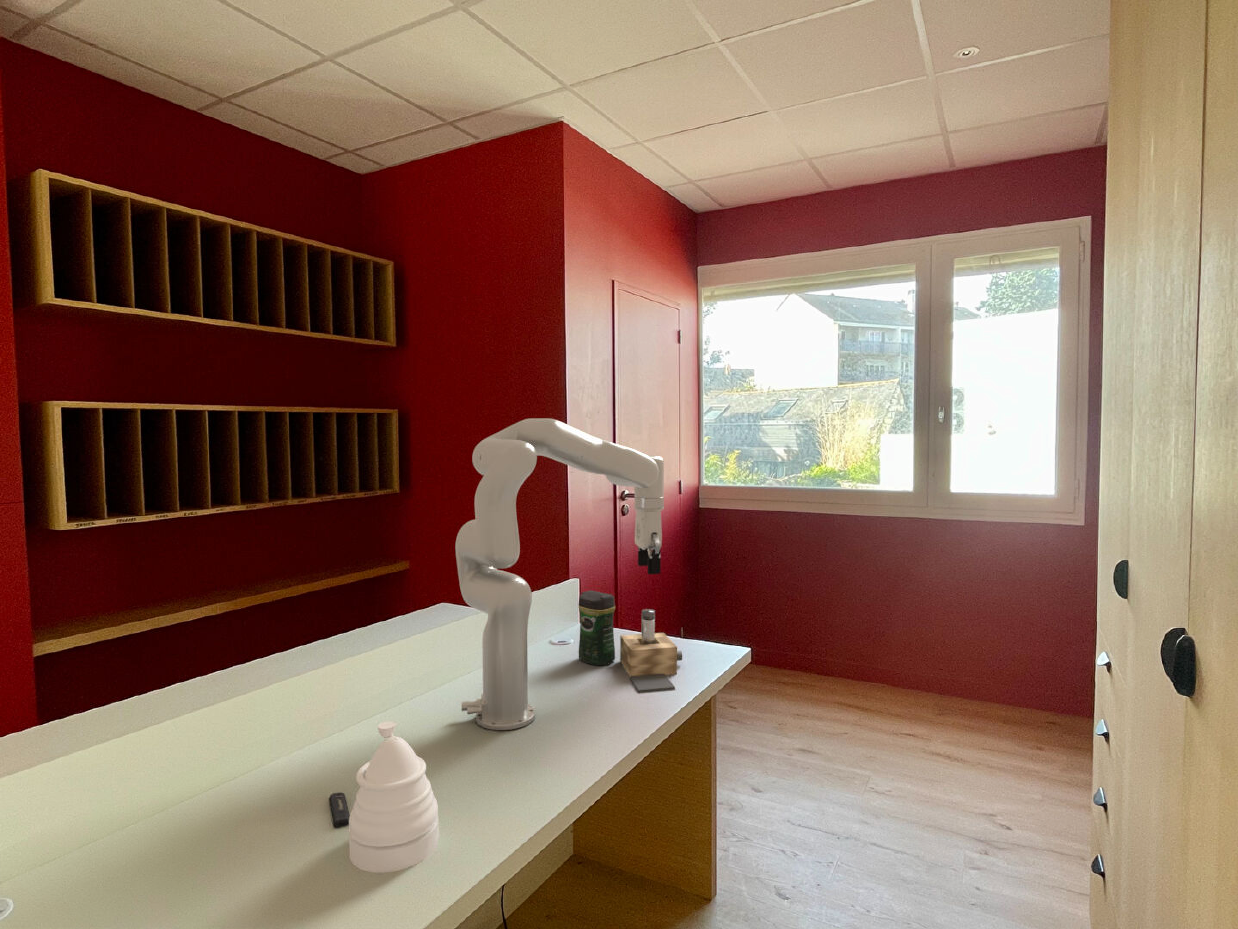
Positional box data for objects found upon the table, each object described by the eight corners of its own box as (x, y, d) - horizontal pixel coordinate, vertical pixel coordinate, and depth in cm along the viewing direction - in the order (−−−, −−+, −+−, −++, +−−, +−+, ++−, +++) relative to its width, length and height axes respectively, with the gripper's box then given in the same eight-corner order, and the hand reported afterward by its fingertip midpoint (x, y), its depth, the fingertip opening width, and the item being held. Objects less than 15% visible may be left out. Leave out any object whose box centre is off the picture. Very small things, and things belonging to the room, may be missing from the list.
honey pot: (335, 844, 104) (332, 728, 103) (413, 810, 113) (411, 704, 112) (372, 885, 95) (370, 759, 93) (454, 845, 104) (453, 729, 102)
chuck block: (630, 677, 171) (631, 650, 171) (620, 661, 183) (620, 635, 183) (688, 673, 175) (688, 646, 174) (674, 657, 186) (674, 632, 186)
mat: (638, 692, 162) (638, 690, 162) (629, 678, 171) (629, 676, 171) (674, 689, 164) (674, 687, 164) (664, 675, 173) (664, 673, 173)
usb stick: (351, 827, 109) (351, 818, 109) (333, 832, 108) (333, 822, 107) (345, 798, 117) (344, 789, 117) (328, 802, 116) (328, 793, 116)
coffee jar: (620, 660, 184) (620, 592, 182) (599, 668, 178) (600, 598, 176) (593, 652, 190) (593, 586, 189) (573, 660, 184) (573, 591, 183)
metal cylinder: (643, 658, 176) (643, 613, 176) (639, 654, 180) (640, 609, 179) (656, 658, 177) (656, 612, 176) (652, 653, 180) (652, 608, 180)
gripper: (627, 500, 183) (627, 563, 185) (643, 508, 167) (643, 578, 168) (654, 499, 185) (653, 562, 186) (673, 507, 168) (672, 576, 169)
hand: (648, 569), depth 177 cm, fingers open, 9 cm apart
